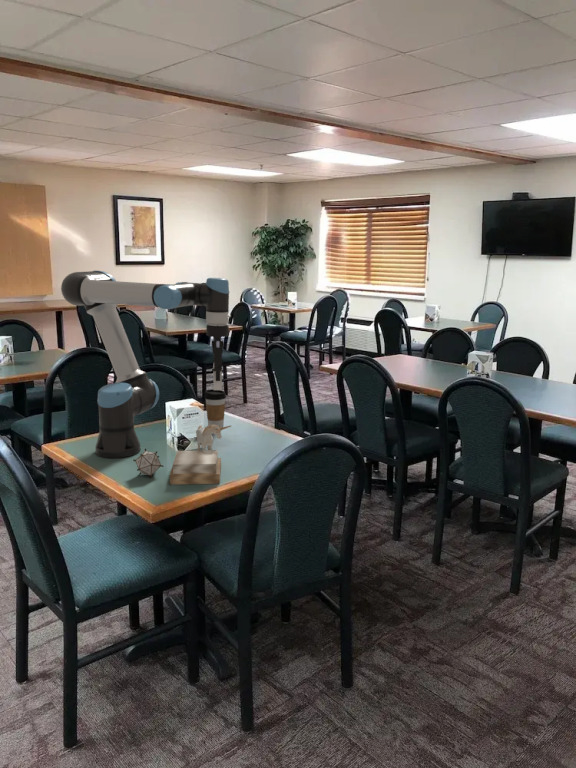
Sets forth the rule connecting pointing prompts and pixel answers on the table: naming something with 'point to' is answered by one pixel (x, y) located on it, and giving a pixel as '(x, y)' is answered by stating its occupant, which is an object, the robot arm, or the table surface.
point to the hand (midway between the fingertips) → (217, 385)
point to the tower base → (196, 477)
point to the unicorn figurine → (208, 435)
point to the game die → (148, 463)
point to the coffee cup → (215, 407)
